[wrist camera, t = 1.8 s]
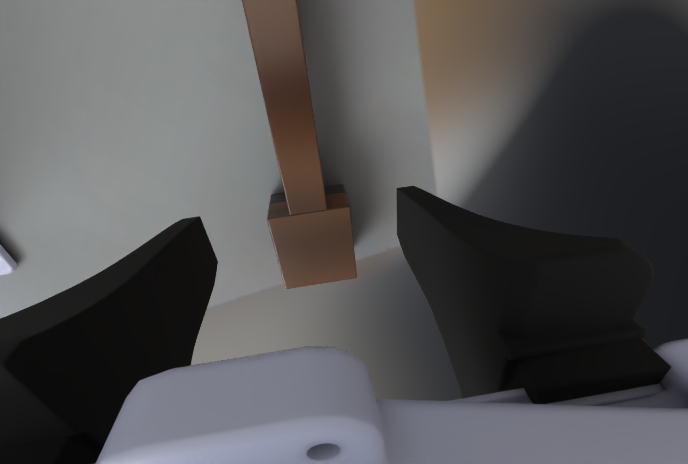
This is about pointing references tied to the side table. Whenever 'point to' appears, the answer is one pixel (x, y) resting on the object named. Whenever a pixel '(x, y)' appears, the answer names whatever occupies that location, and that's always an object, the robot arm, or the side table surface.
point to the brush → (298, 155)
